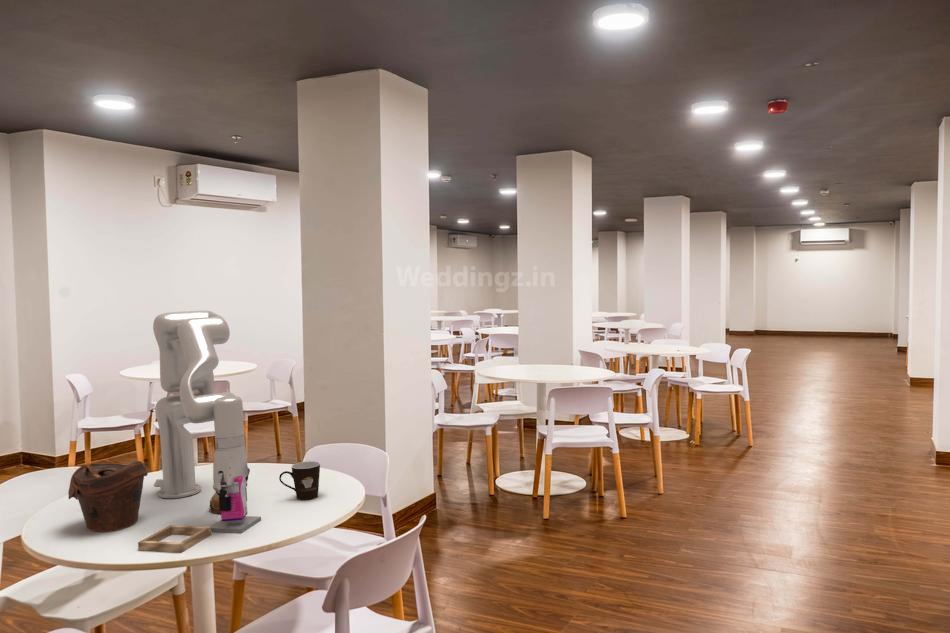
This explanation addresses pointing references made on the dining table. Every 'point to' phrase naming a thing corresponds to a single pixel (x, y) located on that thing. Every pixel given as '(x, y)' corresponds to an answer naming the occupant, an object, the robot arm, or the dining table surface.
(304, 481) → the coffee mug
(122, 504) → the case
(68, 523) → the dining table surface
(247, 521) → the stone pad
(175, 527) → the oak pocket frame
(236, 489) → the supplement box
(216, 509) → the bread roll
